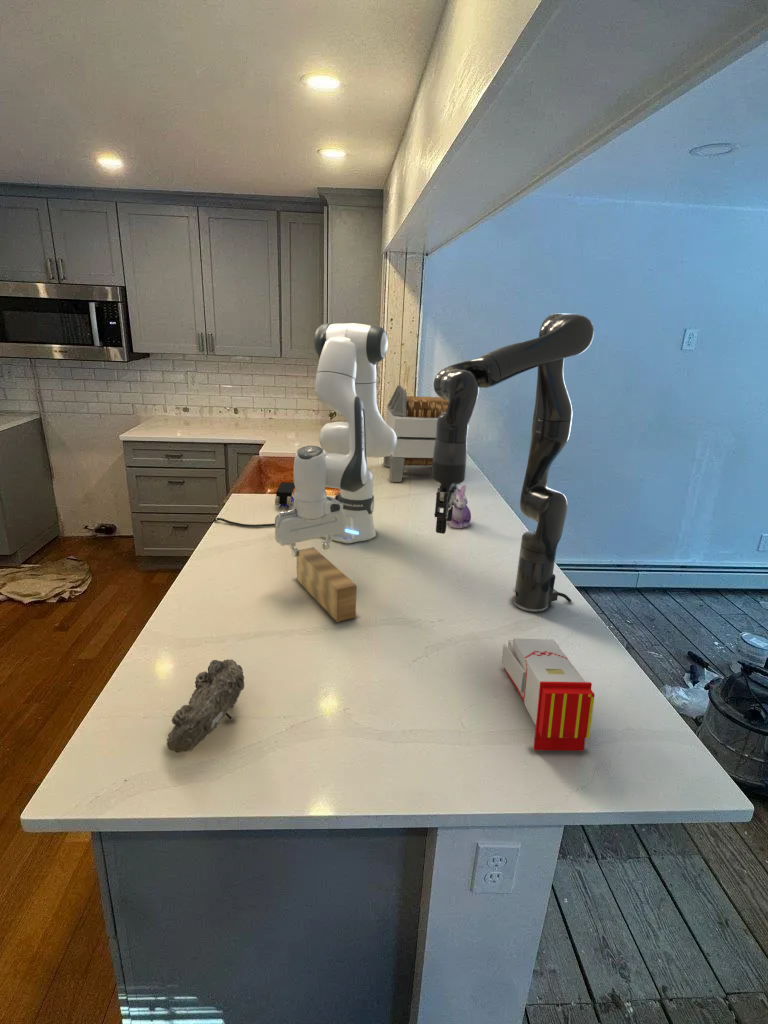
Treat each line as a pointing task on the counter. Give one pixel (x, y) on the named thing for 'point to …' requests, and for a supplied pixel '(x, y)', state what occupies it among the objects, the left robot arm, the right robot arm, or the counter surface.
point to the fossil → (206, 705)
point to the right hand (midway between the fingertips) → (444, 526)
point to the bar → (327, 584)
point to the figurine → (460, 510)
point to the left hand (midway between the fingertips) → (311, 552)
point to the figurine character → (285, 494)
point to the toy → (550, 693)
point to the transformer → (412, 430)
